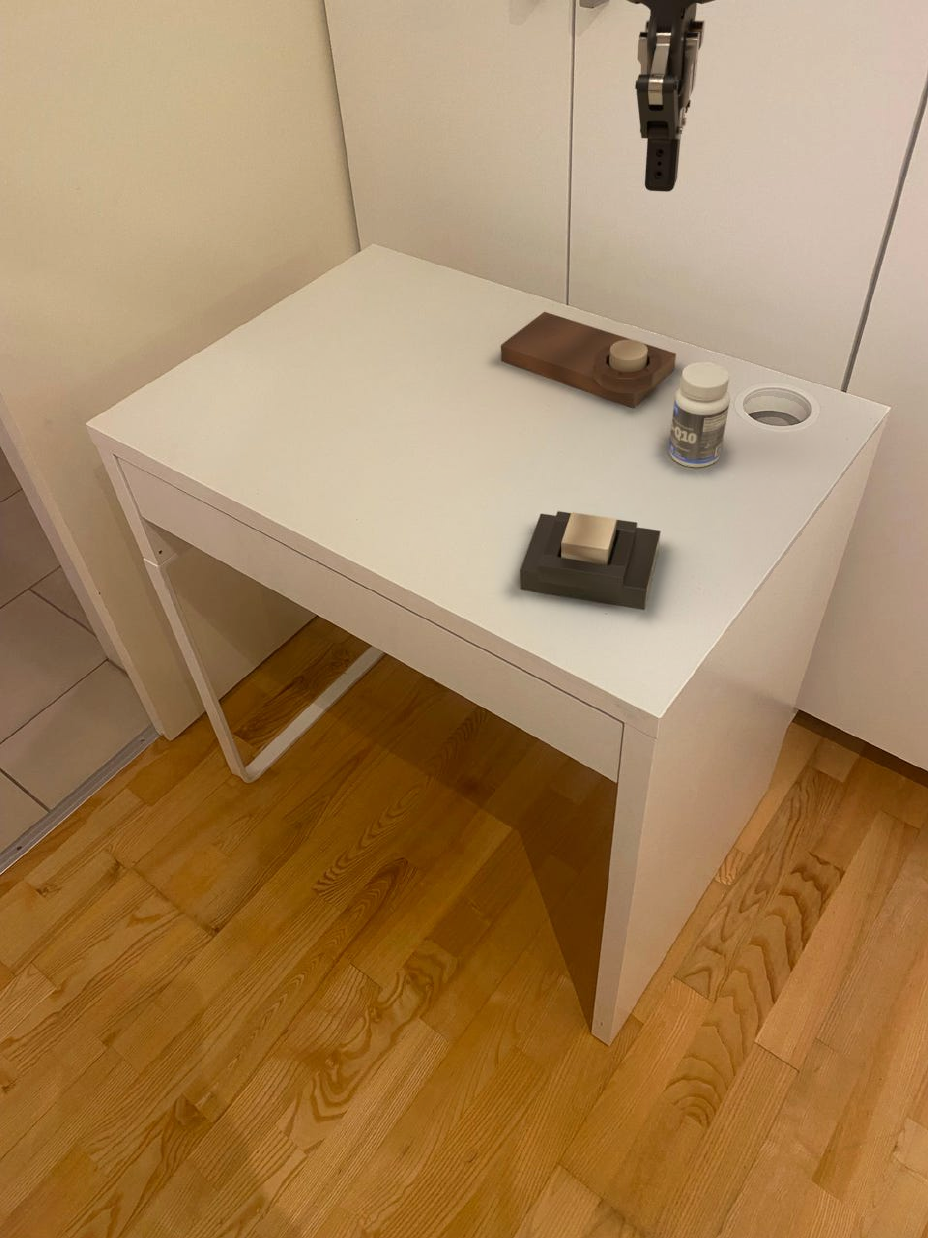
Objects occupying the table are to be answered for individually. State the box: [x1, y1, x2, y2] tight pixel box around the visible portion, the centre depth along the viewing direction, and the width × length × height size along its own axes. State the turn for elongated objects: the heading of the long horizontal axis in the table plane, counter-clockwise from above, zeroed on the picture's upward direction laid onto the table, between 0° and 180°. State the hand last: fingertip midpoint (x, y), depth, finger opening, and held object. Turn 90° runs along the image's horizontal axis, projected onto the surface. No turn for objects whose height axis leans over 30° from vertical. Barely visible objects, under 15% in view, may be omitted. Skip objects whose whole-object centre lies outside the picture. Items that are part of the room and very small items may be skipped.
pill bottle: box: [668, 361, 731, 468], centre depth 85 cm, size 5×5×8 cm
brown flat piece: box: [500, 311, 677, 409], centre depth 97 cm, size 17×9×4 cm, turn 52°
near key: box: [561, 512, 618, 565], centre depth 74 cm, size 4×4×2 cm
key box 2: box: [519, 510, 661, 610], centre depth 76 cm, size 10×8×4 cm
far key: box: [609, 339, 648, 372], centre depth 92 cm, size 4×4×2 cm
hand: (660, 186), depth 72 cm, fingers closed
